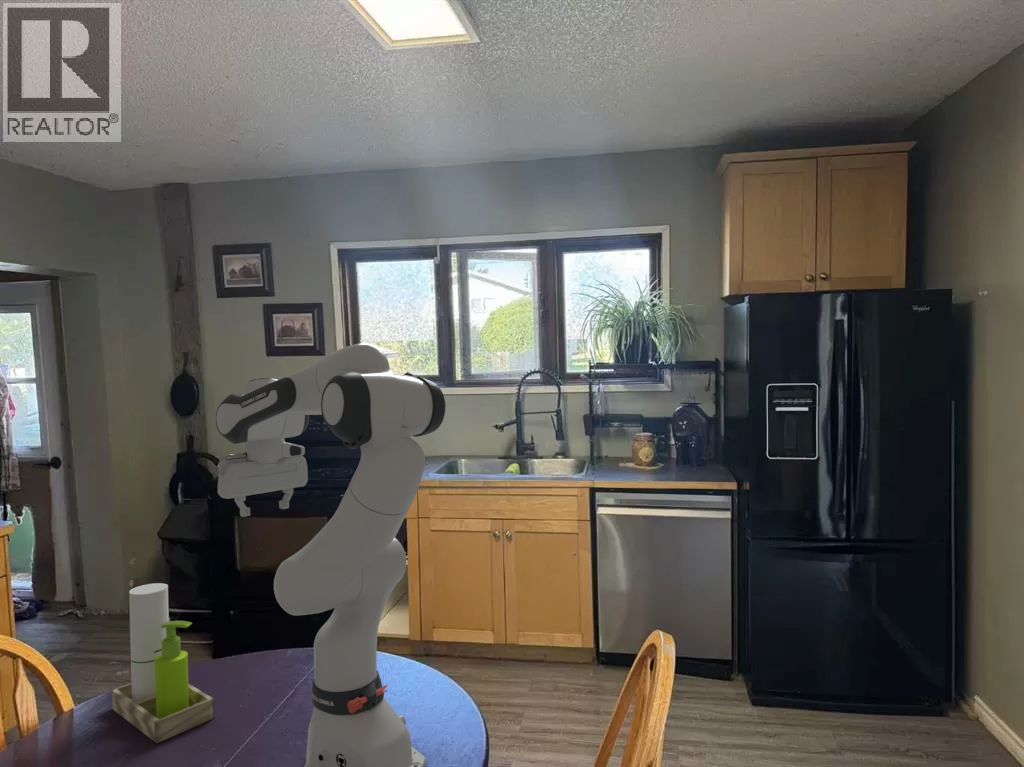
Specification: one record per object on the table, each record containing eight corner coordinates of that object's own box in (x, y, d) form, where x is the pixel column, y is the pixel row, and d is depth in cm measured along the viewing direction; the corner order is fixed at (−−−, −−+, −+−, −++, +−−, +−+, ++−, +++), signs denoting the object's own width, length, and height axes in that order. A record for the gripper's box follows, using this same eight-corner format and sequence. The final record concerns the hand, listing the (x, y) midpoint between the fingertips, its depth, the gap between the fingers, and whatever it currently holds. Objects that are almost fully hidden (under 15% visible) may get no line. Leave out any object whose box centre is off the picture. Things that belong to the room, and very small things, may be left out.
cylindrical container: (177, 703, 136) (174, 586, 136) (142, 718, 130) (139, 596, 130) (160, 694, 140) (157, 581, 140) (125, 708, 134) (122, 590, 134)
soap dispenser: (185, 728, 126) (182, 627, 126) (150, 728, 126) (147, 628, 126) (199, 712, 132) (197, 616, 132) (166, 713, 132) (164, 617, 132)
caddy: (214, 718, 130) (213, 698, 130) (156, 743, 121) (156, 722, 121) (166, 687, 143) (166, 670, 143) (111, 708, 134) (111, 689, 134)
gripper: (226, 456, 133) (227, 522, 133) (311, 447, 149) (312, 506, 149) (211, 454, 137) (212, 519, 137) (295, 445, 153) (296, 503, 153)
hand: (265, 512), depth 143 cm, fingers open, 8 cm apart
